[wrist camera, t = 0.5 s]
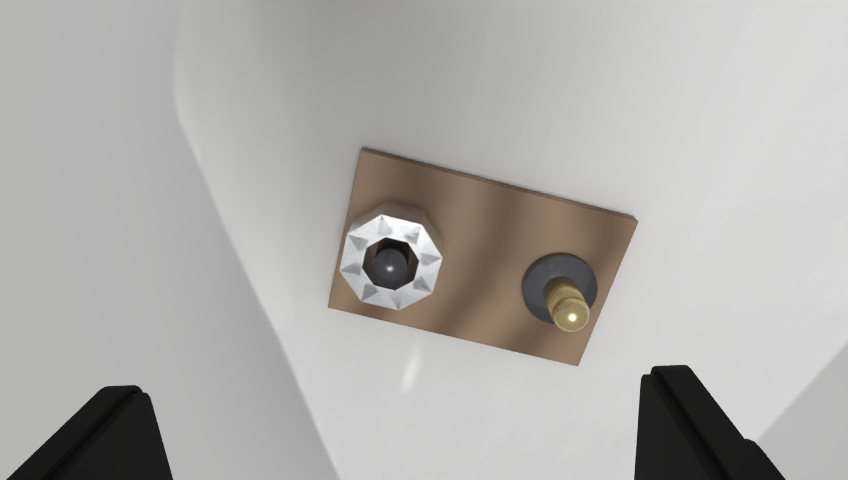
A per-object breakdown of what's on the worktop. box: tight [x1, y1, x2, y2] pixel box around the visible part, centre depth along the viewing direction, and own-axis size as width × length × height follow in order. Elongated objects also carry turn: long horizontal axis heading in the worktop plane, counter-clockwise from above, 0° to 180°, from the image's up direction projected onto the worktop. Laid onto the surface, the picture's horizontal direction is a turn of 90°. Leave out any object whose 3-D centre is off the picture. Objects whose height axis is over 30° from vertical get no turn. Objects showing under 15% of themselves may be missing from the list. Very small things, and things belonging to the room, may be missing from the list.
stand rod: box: [371, 237, 410, 288], centre depth 39 cm, size 2×2×5 cm
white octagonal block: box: [339, 200, 443, 310], centre depth 39 cm, size 7×7×4 cm
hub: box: [521, 252, 598, 332], centre depth 39 cm, size 6×6×6 cm
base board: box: [328, 148, 638, 366], centre depth 42 cm, size 21×13×1 cm, turn 76°
